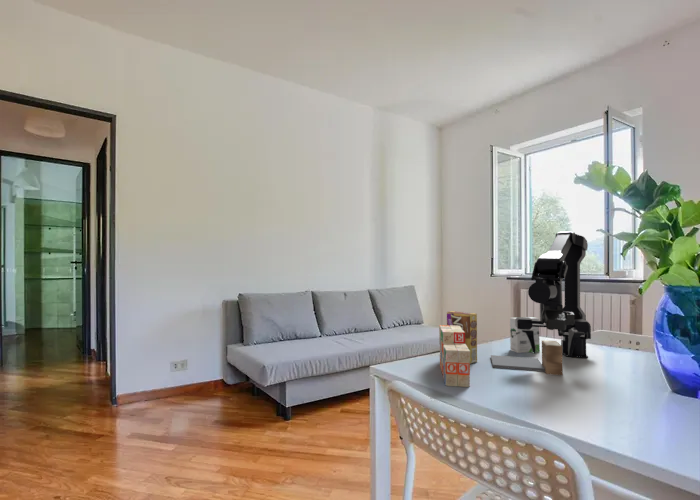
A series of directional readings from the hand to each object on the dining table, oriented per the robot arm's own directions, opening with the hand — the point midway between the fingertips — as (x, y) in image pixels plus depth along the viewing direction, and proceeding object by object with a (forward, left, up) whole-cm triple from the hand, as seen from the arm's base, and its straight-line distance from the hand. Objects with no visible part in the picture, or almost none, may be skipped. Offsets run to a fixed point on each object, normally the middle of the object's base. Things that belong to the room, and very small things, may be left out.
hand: (551, 354), depth 110 cm
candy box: (+25, -5, -5) cm, 26 cm away
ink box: (+4, -24, -5) cm, 25 cm away
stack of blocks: (+27, +11, -5) cm, 30 cm away
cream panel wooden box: (0, 0, -5) cm, 5 cm away
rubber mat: (+9, -5, -5) cm, 11 cm away
